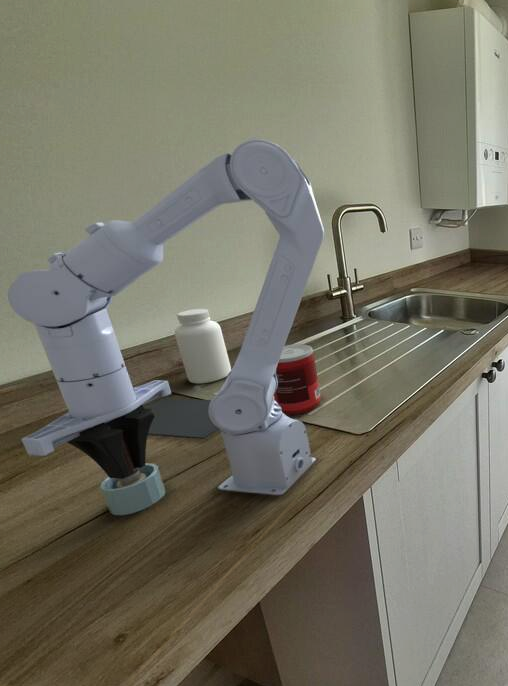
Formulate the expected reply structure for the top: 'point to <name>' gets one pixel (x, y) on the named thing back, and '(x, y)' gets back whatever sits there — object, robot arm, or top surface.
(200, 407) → the mat
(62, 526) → the top surface
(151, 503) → the bowl
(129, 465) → the brush
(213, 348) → the pill bottle
